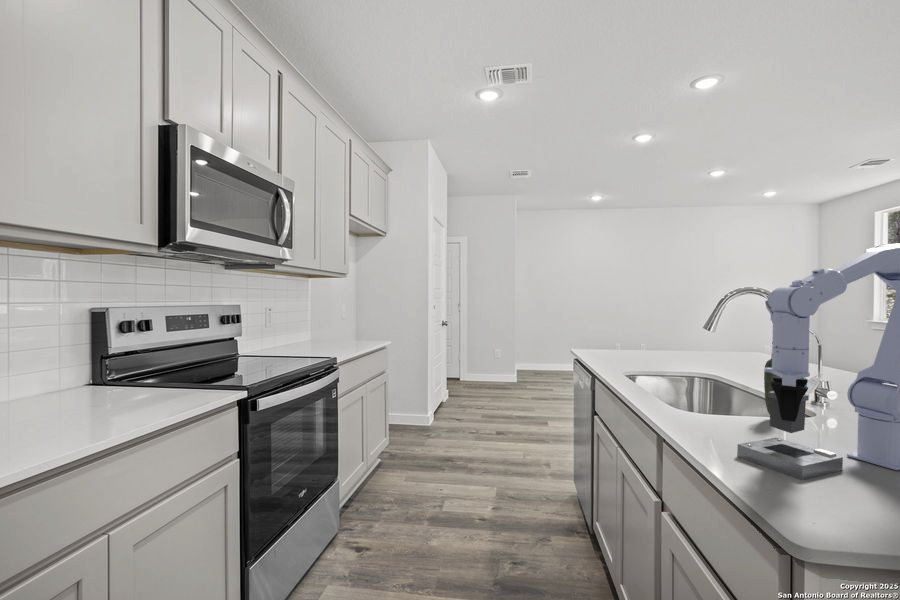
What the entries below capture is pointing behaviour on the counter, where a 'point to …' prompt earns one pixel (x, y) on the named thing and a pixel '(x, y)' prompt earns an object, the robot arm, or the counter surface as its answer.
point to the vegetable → (768, 383)
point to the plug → (783, 424)
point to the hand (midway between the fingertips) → (788, 416)
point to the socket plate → (790, 457)
